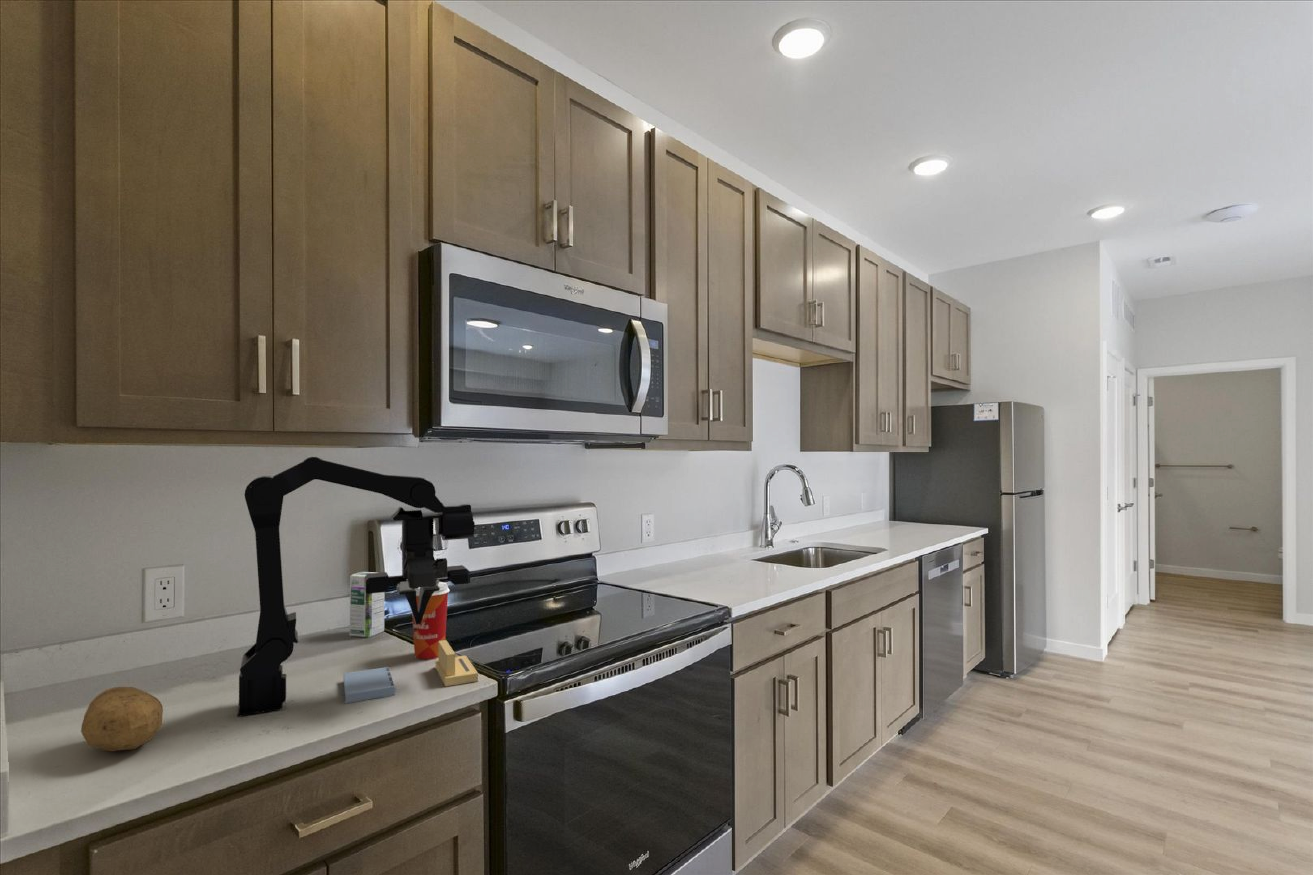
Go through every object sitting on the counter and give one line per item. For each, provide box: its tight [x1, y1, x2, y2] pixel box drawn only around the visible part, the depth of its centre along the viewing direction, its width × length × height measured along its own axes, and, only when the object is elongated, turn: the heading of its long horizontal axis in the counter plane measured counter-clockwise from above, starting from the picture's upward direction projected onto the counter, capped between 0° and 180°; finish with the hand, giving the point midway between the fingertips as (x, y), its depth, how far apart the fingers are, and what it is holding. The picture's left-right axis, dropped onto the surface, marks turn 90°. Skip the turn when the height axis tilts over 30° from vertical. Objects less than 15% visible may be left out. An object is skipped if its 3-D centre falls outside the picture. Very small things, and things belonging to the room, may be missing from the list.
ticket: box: [343, 666, 396, 704], centre depth 121 cm, size 8×12×2 cm, turn 27°
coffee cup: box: [411, 581, 451, 660], centre depth 140 cm, size 8×8×15 cm
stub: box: [434, 639, 479, 687], centre depth 128 cm, size 6×12×6 cm, turn 27°
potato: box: [80, 686, 164, 752], centre depth 97 cm, size 10×14×8 cm
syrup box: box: [348, 571, 385, 638], centre depth 157 cm, size 6×6×14 cm
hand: (418, 623), depth 125 cm, fingers closed
